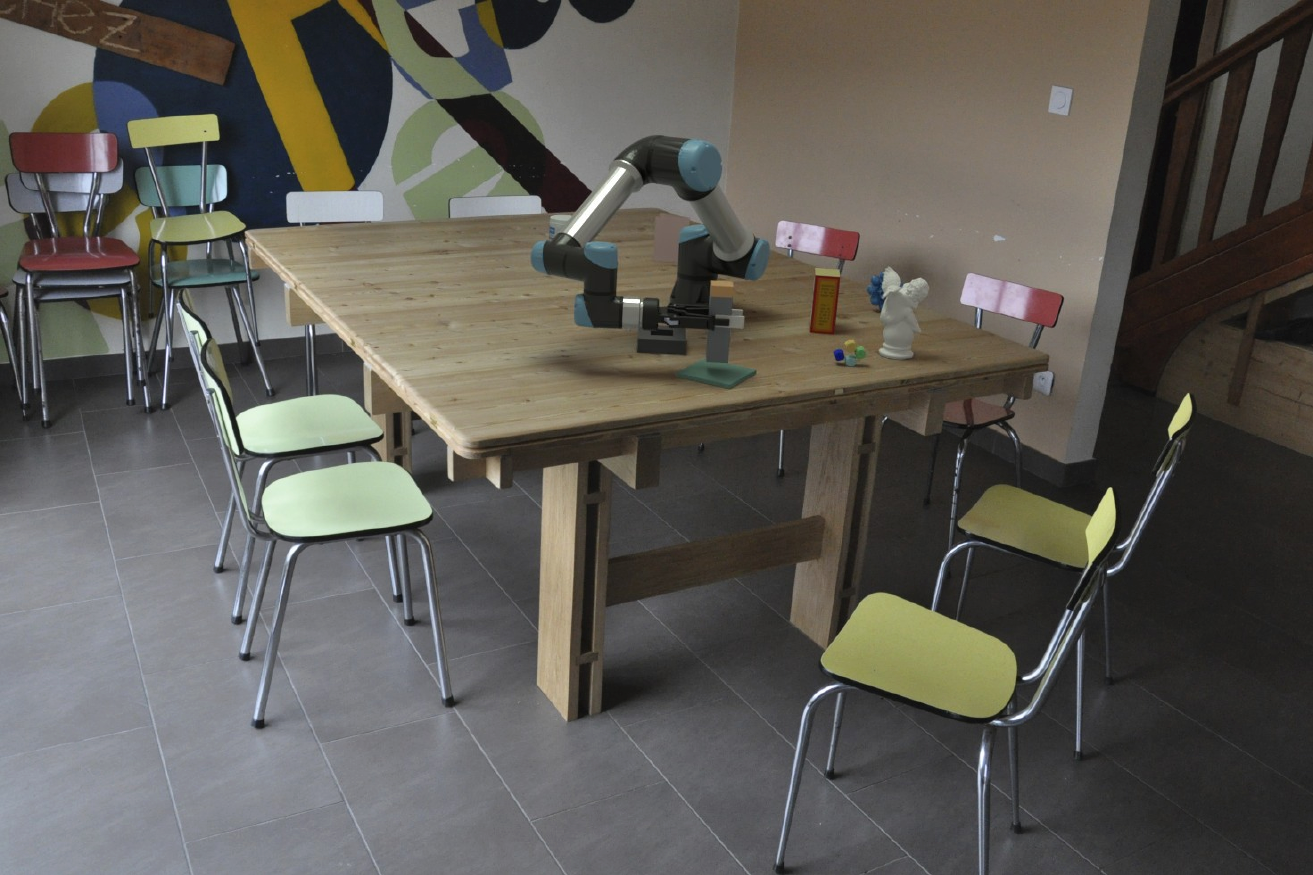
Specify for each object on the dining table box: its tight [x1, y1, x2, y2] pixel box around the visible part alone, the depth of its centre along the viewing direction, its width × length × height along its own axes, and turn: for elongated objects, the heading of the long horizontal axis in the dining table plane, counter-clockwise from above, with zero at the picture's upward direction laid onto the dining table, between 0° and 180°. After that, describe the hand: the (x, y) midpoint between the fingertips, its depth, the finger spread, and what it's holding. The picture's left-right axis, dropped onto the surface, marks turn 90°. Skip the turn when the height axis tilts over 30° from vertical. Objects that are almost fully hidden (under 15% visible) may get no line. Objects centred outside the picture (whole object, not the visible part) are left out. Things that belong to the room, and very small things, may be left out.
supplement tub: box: [548, 214, 572, 241], centre depth 359 cm, size 10×10×15 cm
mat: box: [675, 357, 757, 390], centre depth 260 cm, size 14×14×1 cm
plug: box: [705, 280, 735, 363], centre depth 255 cm, size 5×5×18 cm
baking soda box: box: [808, 267, 841, 335], centre depth 299 cm, size 10×6×16 cm
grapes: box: [866, 270, 905, 312], centre depth 319 cm, size 12×7×12 cm, turn 89°
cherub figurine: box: [878, 265, 930, 360], centre depth 278 cm, size 12×12×22 cm
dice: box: [833, 339, 867, 367], centre depth 272 cm, size 8×3×6 cm, turn 89°
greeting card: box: [652, 212, 691, 263], centre depth 368 cm, size 11×7×15 cm, turn 59°
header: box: [636, 324, 687, 355], centre depth 279 cm, size 13×12×4 cm
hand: (742, 319), depth 255 cm, fingers closed on plug, 5 cm apart
